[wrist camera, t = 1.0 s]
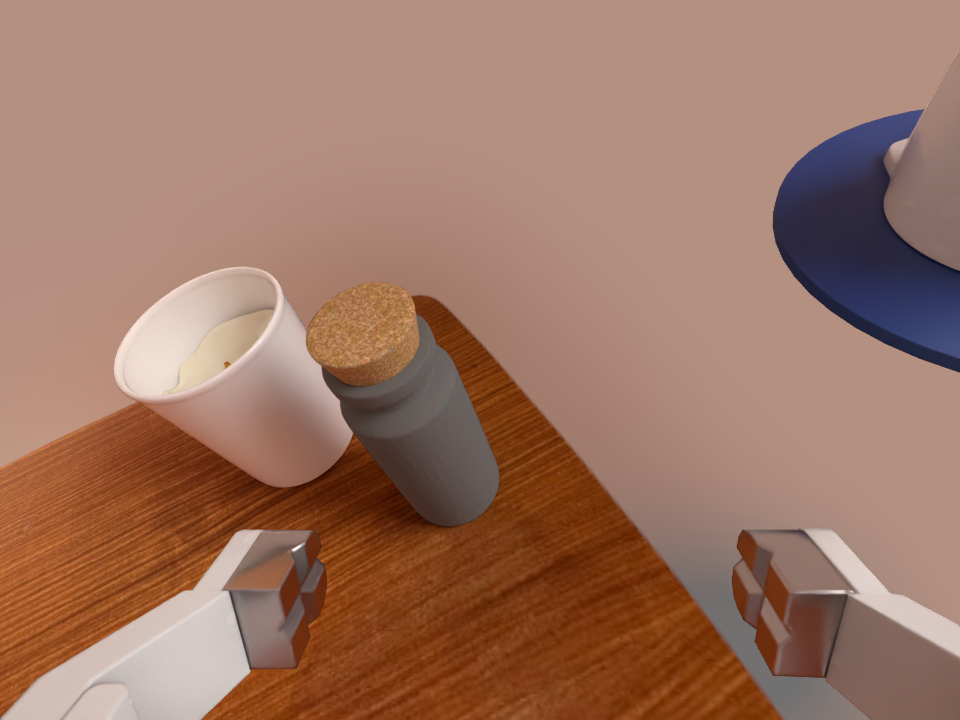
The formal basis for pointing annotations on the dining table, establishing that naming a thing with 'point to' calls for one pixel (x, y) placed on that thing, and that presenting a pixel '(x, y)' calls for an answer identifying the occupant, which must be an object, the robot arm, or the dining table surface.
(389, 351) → the bottle
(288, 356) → the candle holder
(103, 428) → the dining table surface
